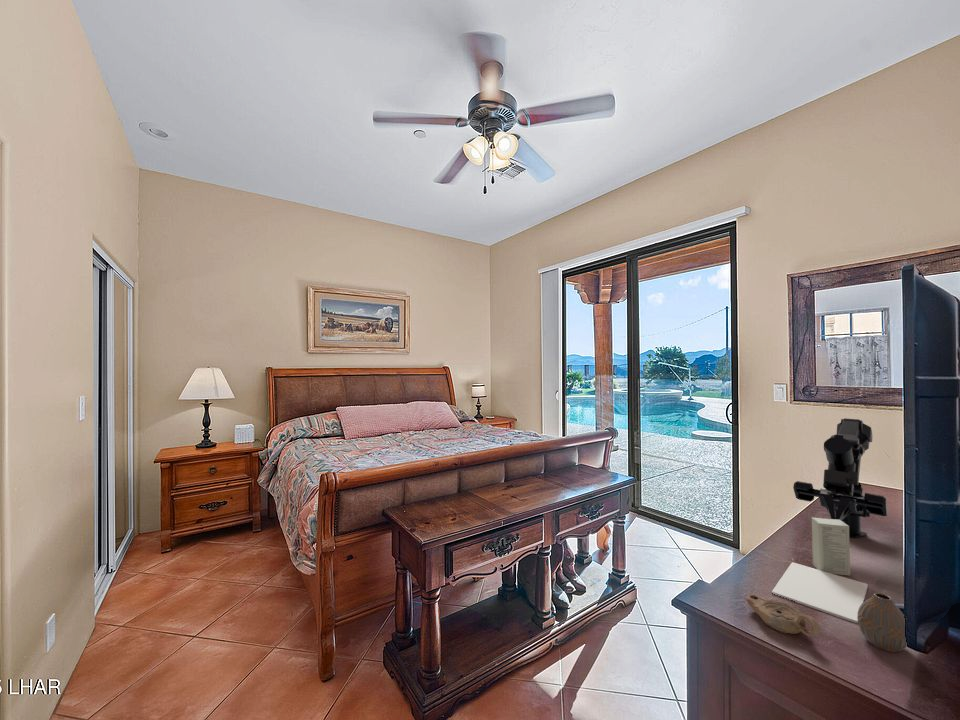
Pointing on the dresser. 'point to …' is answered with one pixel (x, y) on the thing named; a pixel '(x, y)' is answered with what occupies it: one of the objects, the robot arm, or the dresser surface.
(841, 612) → the notebook
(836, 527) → the skincare box
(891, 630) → the vase
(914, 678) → the dresser surface
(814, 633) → the oil lamp
